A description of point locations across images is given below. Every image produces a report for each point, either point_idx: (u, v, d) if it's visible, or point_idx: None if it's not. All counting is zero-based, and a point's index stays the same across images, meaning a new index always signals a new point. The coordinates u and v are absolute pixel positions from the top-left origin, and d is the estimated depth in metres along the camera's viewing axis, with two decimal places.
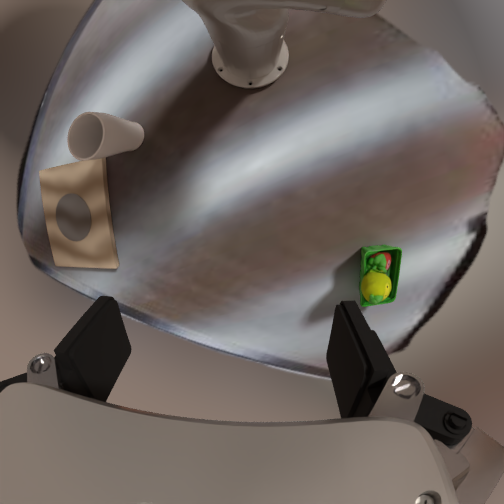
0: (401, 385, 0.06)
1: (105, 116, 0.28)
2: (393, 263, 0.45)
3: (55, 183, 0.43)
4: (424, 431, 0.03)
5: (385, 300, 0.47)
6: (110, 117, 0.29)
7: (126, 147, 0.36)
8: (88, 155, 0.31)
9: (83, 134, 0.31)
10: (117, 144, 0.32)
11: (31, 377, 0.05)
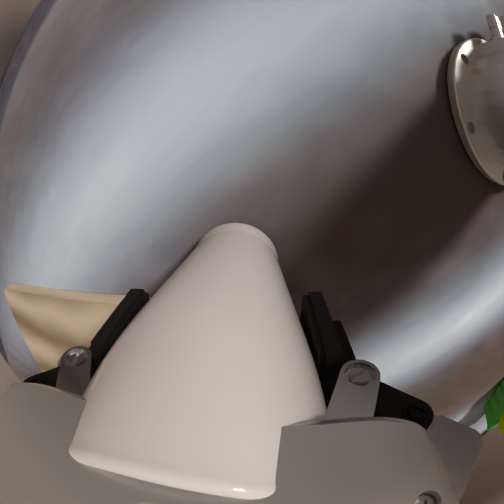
0: (355, 373, 0.07)
1: None
2: None
3: (41, 325, 0.19)
4: (424, 431, 0.03)
5: None
6: (306, 384, 0.05)
7: None
8: None
9: None
10: None
11: (67, 370, 0.06)
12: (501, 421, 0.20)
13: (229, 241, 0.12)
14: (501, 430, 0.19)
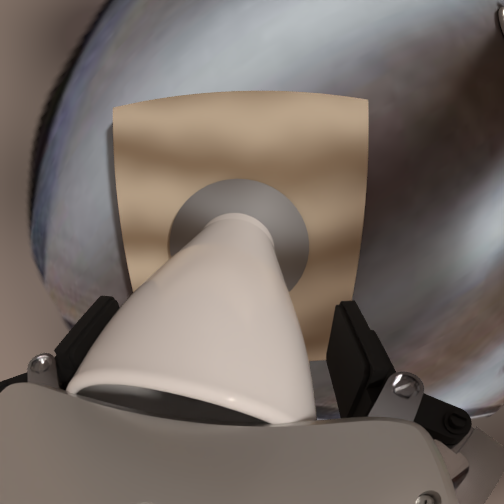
0: (401, 385, 0.06)
1: (286, 361, 0.06)
2: None
3: (176, 142, 0.17)
4: (424, 431, 0.03)
5: None
6: (287, 331, 0.07)
7: None
8: None
9: None
10: None
11: (31, 377, 0.05)
12: None
13: (227, 226, 0.14)
14: None
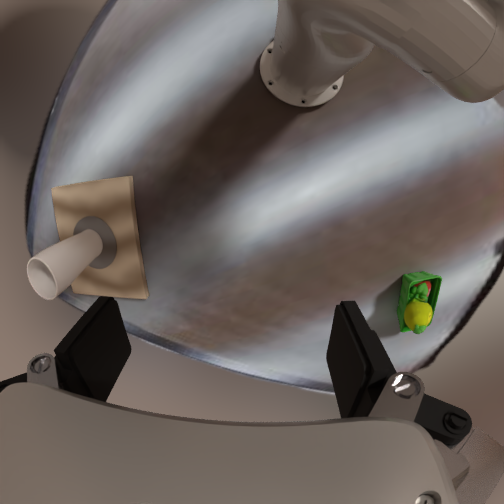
0: (401, 385, 0.06)
1: (54, 259, 0.29)
2: (431, 289, 0.43)
3: (71, 203, 0.40)
4: (424, 431, 0.03)
5: None
6: (59, 256, 0.30)
7: (84, 268, 0.37)
8: (50, 285, 0.32)
9: (42, 263, 0.32)
10: (73, 278, 0.33)
11: (31, 377, 0.05)
12: (404, 314, 0.41)
13: (76, 235, 0.37)
14: (406, 323, 0.40)
